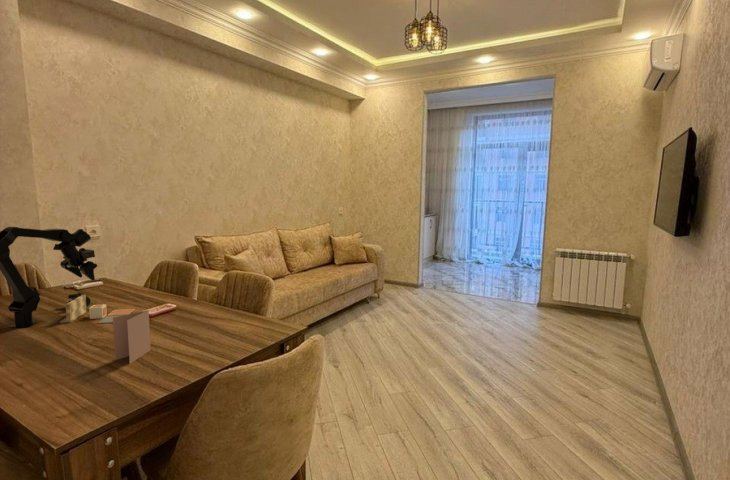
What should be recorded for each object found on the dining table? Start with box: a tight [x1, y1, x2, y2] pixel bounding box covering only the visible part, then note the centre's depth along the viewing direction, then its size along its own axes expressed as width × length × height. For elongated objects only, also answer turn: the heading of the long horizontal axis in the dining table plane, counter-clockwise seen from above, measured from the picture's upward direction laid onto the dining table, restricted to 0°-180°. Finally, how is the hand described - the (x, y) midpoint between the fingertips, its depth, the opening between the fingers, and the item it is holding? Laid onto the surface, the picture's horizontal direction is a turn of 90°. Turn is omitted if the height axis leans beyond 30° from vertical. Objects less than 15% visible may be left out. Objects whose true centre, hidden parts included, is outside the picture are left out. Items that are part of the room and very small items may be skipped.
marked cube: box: [88, 303, 108, 320], centre depth 179 cm, size 5×5×5 cm
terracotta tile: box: [106, 308, 136, 316], centre depth 185 cm, size 9×9×1 cm
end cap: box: [67, 291, 91, 308], centre depth 192 cm, size 10×7×7 cm
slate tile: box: [97, 315, 123, 325], centre depth 176 cm, size 9×9×1 cm
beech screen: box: [59, 294, 88, 324], centre depth 178 cm, size 16×4×8 cm, turn 14°
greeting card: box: [112, 309, 152, 364], centre depth 137 cm, size 11×7×15 cm, turn 141°
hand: (87, 278), depth 192 cm, fingers open, 9 cm apart
